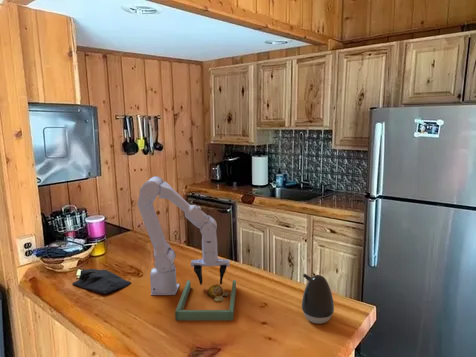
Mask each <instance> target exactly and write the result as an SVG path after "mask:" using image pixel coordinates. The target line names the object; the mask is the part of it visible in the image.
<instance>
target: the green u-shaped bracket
mask: <svg viewBox="0 0 476 357" xmlns="http://www.w3.org/2000/svg"><path fill="white" fill-rule="evenodd" d="M191 286H192V285H191V280H189V279H188V280H186V283H185V285H184V288H183V290H182V293H181V296H180V298H179V301H178V303H177V306H176V307H175V311H174V314H175V315H174V316H175V321H234V317H235V315H234V314H235V304H236V293H237V280H236V279H234V280H232V285H231V292H230V293H231V296H230V300H229V302H230V303H229V309H184V308H185V305H186V302H187V299H188V296H189V293H190V291H191V289H192V287H191Z"/></svg>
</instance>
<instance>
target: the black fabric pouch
mask: <svg viewBox="0 0 476 357" xmlns="http://www.w3.org/2000/svg"><path fill="white" fill-rule="evenodd" d="M131 284H132V282H131V281H129V280H126V279H124V278H123V277H121V276H119V275H117V274H115V273H113V272H112V271H109V270H107V269H97V268H87V269H82V270H80V274H79V278H78V280H76V281H74V282H72V285H74V286H78V287H80V289H81V288H82V289H85V290H90V291H93V292H96V293H99V294H108V293H110V292H114V291H116V290H120V289H123V288H126V287H128V286H129V285H131Z"/></svg>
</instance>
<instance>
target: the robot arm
mask: <svg viewBox="0 0 476 357" xmlns="http://www.w3.org/2000/svg"><path fill="white" fill-rule="evenodd" d="M157 197H158V199H160V200H161V199H162V200H163V199H164V200H166V199H167V200H169V201H170V202H171V203H172V204H174V205H175V206H176V207H177V208H179V209H180V210H181V211H183V212H184V218H186V219H187V220H188V221H189V223H190V222H191V223H192V225H194V226H195V227H196V228H198V229H199V231H200V234H201V252H202V258H199V259H191V261H190V267H192V268H193V272H194V273H195V275H196V277H197V279H198V281H199V285H201V286H202V285H203V280H204V279H203V267H219V285H220V286H221V285H223V279H224V276H225V273H226V270H227V268H228V267H230V259H223V258H219V257H218V255H219V254H218V238H217V229H218V228H217V226H218V224H217V221H216V219H215V218H214V217H212V216H211V215H208V214H206V213H205V212H204V211H203V210H201V209H202V207H201V206H199V205H198V206H197V205H196V204H190V203H189V202H187V201H186V200H185V198H184V197H182V195H180V193H178V192H177V191H176V190H175V189H174V188H173V187H172V186H171V185H170V184H169V183H168V182H167V181H166V180H163V178H161V177H160V176H152V177H150V178H149V179H148V180H147V181H145V182H144V183H143V184H142V185H141V187H140V188H139V195H138V201H137V207H138V210H139V213H140V215H141V218H142V221H143V224H144V226H145V228H146V232H147V235H148V237H149V239H150V242H151V244H152V245H151V246H152V248H153V258H154V267H152V268H151V269H150V270H151V271H150V274H149V275H150V276H149V279H150V280H149V281H150V295H151V296H176V294H177V292H178V289H179V288H180V283H177V271H176V266H177V265H175V262H174V261H175V260H176V252H175V250H174V249H173V248H172V247H171V245H170V243H168V242H167V240H166V237H165V235H164V231H163V229H162V226H161V224H160V221H159V218H158V216H157V212H156V210H155V208H154V201H156V198H157Z"/></svg>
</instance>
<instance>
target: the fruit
mask: <svg viewBox="0 0 476 357" xmlns="http://www.w3.org/2000/svg"><path fill="white" fill-rule="evenodd" d="M207 289H208V290H207V294H208V296H209V297H210V298H212V299H214V302H216V303H222V302H224V297H223V296H225V297H231V292H226V291H224V289H223V287H222V286H221V285H220V284H213V285H211V286H209V288H207Z"/></svg>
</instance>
